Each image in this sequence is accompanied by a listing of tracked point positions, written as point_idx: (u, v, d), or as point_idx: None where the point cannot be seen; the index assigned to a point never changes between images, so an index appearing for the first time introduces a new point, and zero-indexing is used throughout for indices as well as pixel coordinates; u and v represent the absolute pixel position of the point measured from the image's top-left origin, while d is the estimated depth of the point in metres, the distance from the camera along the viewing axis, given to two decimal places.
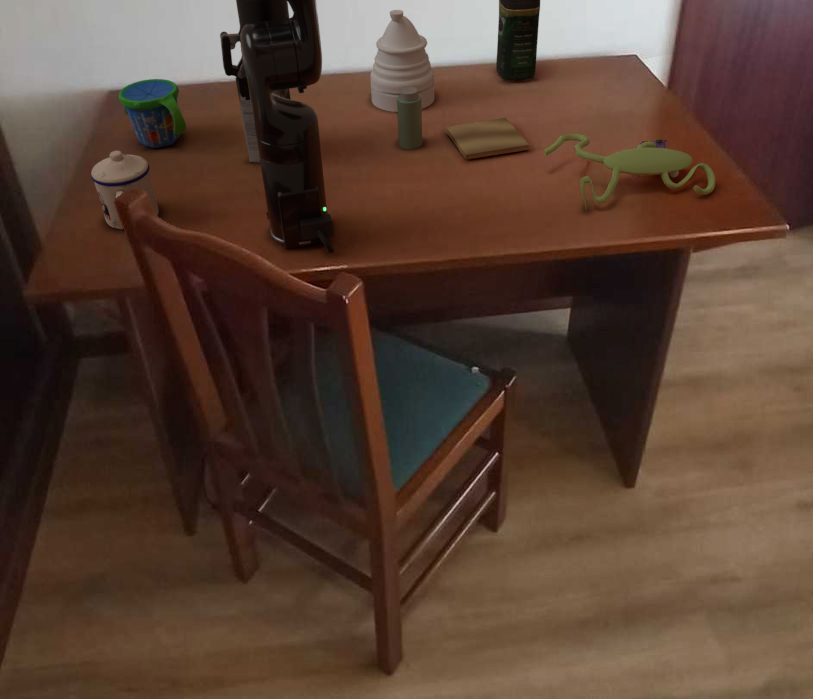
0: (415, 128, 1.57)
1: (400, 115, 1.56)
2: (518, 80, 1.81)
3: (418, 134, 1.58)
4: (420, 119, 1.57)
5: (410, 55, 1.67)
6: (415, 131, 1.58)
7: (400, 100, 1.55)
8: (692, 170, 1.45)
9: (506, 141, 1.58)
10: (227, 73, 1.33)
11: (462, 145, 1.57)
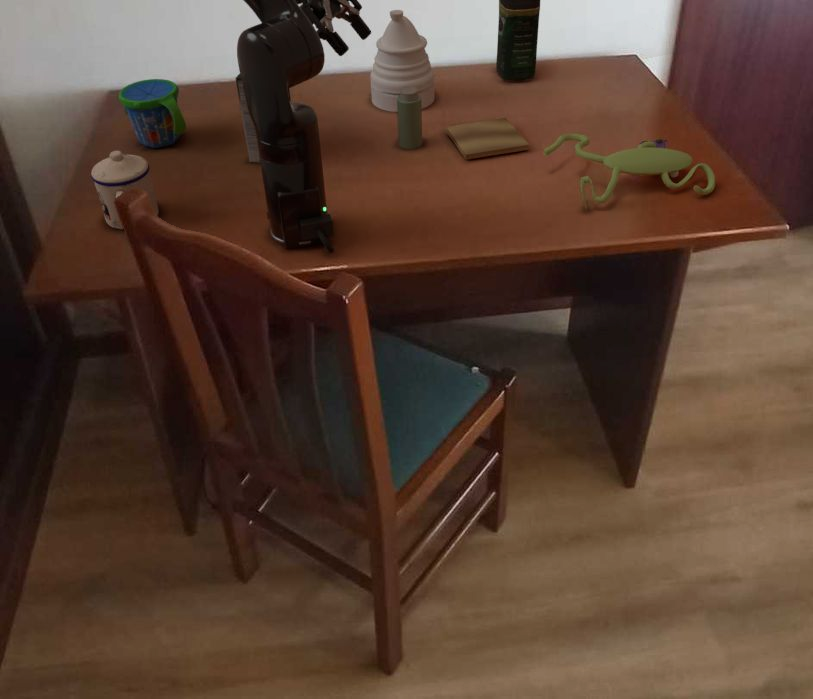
0: (415, 128, 1.57)
1: (400, 115, 1.56)
2: (518, 80, 1.81)
3: (418, 134, 1.58)
4: (420, 119, 1.57)
5: (410, 56, 1.67)
6: (415, 131, 1.58)
7: (400, 100, 1.55)
8: (692, 170, 1.45)
9: (506, 141, 1.58)
10: None
11: (462, 145, 1.57)
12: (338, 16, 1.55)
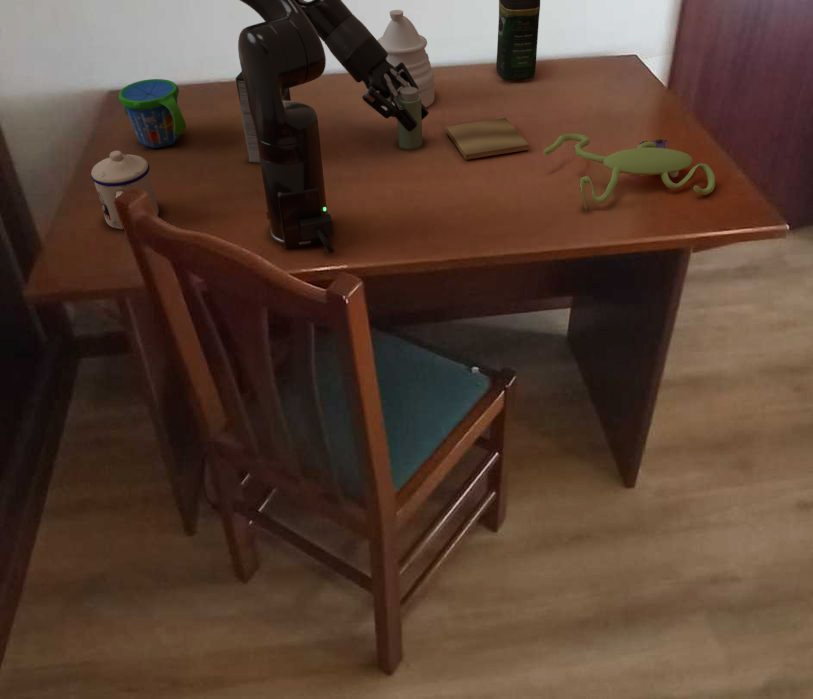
0: (415, 128, 1.57)
1: None
2: (518, 80, 1.81)
3: (418, 134, 1.58)
4: (420, 119, 1.57)
5: (410, 56, 1.67)
6: (415, 131, 1.58)
7: (400, 100, 1.55)
8: (692, 170, 1.45)
9: (506, 141, 1.58)
10: None
11: (462, 145, 1.57)
12: None
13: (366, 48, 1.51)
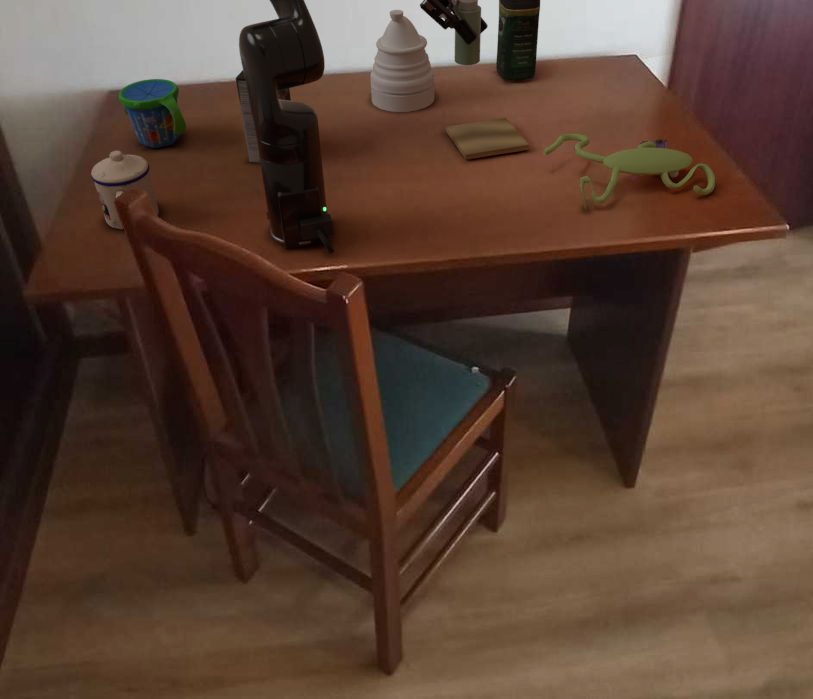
0: (474, 42, 1.47)
1: None
2: (518, 80, 1.81)
3: (477, 48, 1.49)
4: (479, 32, 1.47)
5: (410, 56, 1.67)
6: (473, 45, 1.48)
7: (459, 10, 1.45)
8: (692, 170, 1.45)
9: (506, 141, 1.58)
10: None
11: (462, 145, 1.57)
12: None
13: None
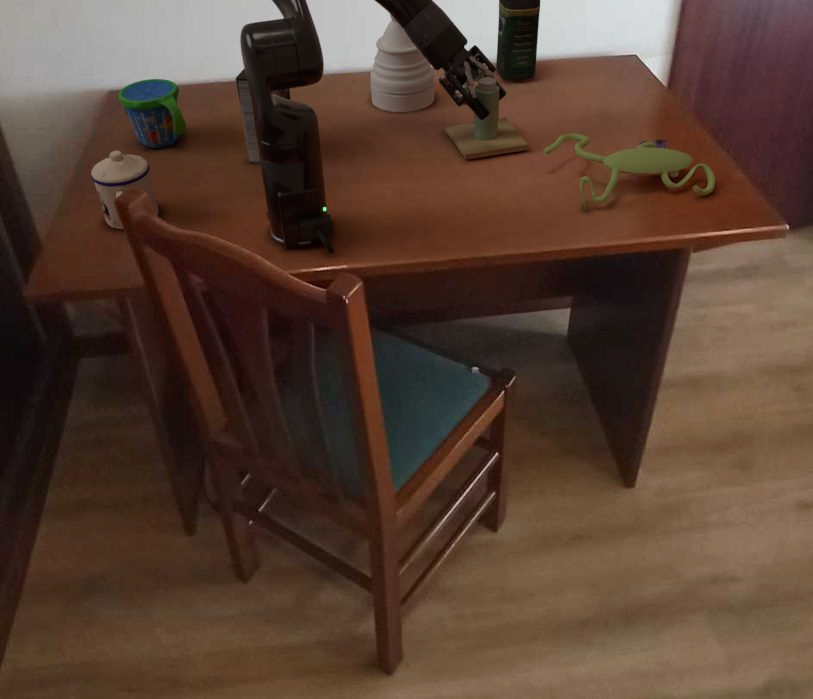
0: (492, 119, 1.56)
1: None
2: (518, 80, 1.81)
3: (495, 124, 1.57)
4: (497, 110, 1.56)
5: (410, 56, 1.67)
6: (492, 122, 1.56)
7: (478, 90, 1.54)
8: (692, 170, 1.45)
9: (506, 141, 1.58)
10: None
11: (462, 145, 1.57)
12: (474, 79, 1.57)
13: (447, 35, 1.49)
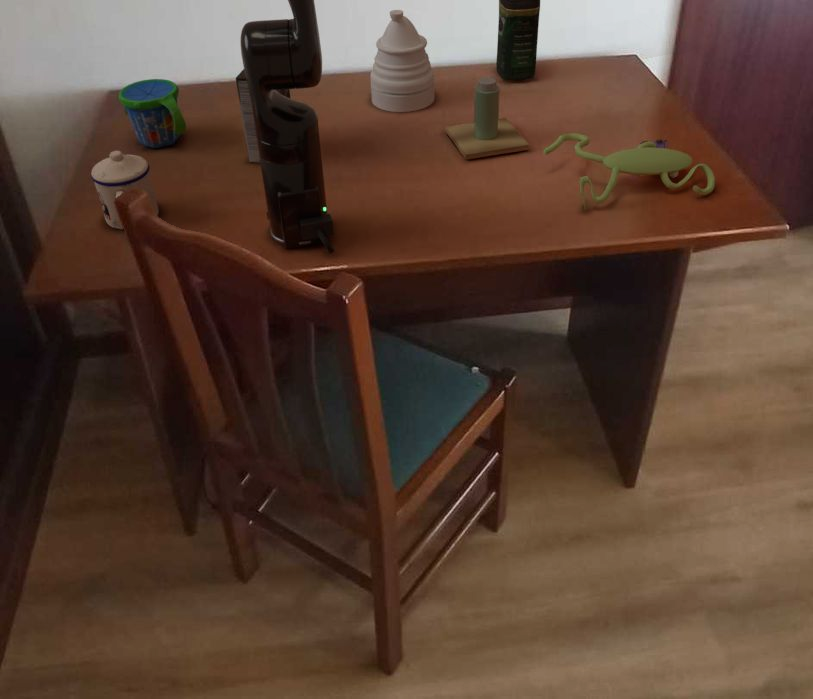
0: (492, 119, 1.56)
1: (478, 106, 1.55)
2: (518, 80, 1.81)
3: (495, 124, 1.57)
4: (497, 110, 1.56)
5: (410, 56, 1.67)
6: (492, 122, 1.56)
7: (478, 90, 1.54)
8: (692, 170, 1.45)
9: (506, 141, 1.58)
10: None
11: (462, 145, 1.57)
12: None
13: None
